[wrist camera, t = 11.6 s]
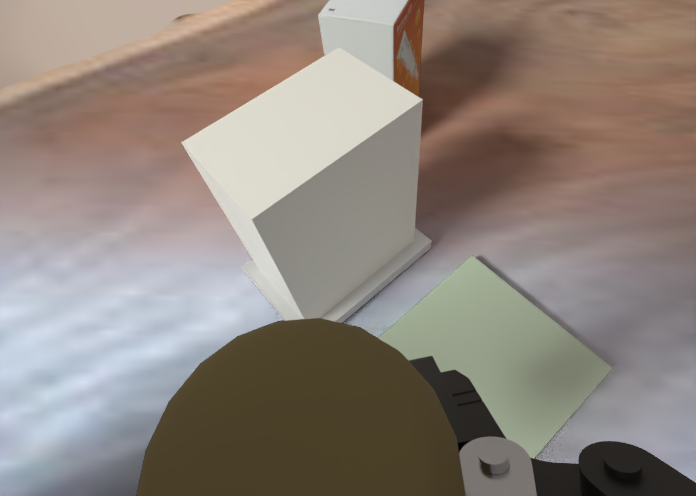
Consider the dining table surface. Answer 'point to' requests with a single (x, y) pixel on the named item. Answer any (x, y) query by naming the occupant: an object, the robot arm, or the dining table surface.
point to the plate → (501, 352)
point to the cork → (304, 421)
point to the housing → (320, 185)
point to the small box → (377, 35)
